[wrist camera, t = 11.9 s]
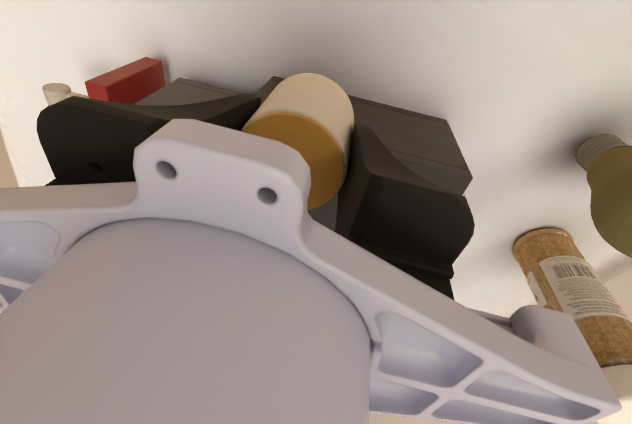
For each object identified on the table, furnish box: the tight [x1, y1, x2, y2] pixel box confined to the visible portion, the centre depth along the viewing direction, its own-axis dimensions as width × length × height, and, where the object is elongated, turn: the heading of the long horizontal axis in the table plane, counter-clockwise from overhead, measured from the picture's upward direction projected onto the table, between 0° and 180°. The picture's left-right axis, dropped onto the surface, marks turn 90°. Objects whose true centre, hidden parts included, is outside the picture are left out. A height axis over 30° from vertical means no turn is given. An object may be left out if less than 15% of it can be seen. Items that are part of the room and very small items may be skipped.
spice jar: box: [513, 228, 632, 424], centre depth 22 cm, size 5×5×14 cm
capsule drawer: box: [42, 57, 242, 106], centre depth 22 cm, size 16×10×6 cm, turn 79°
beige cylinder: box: [241, 73, 354, 210], centre depth 12 cm, size 4×4×4 cm
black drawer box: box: [255, 76, 473, 232], centre depth 22 cm, size 13×12×8 cm
